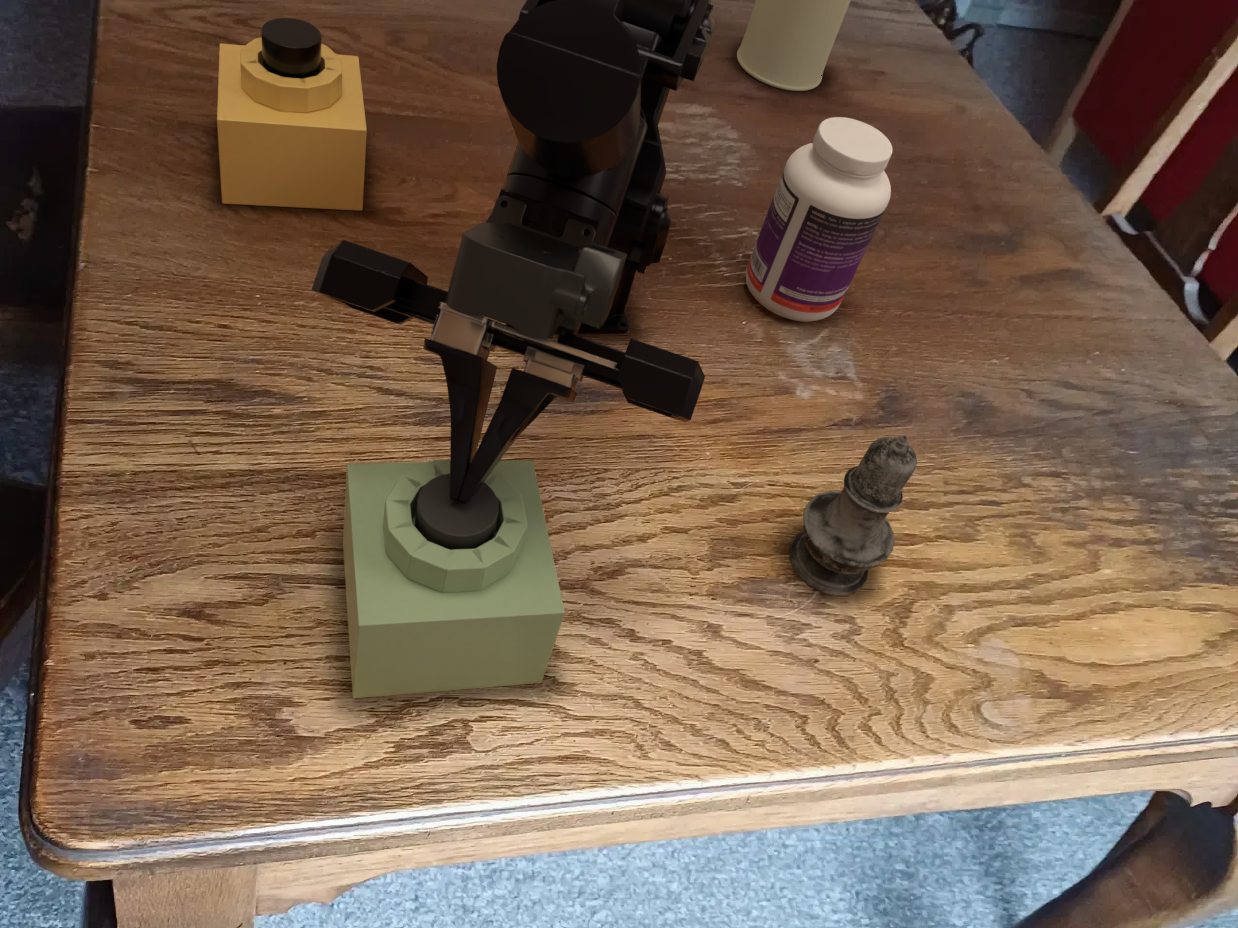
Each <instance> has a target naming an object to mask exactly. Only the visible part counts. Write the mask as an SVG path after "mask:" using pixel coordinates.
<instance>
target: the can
mask: <svg viewBox="0 0 1238 928" xmlns="http://www.w3.org/2000/svg"><path fill="white" fill-rule="evenodd" d="M851 1H852V0H755V2H754V5H753V8H752V12H751V15H750V17H749V21H748V23H747V26H746V30H745V33H744V35H743V38H742V40H741V44H740V46H739V48H738V49H737V52H736V59H737V62H738V64H739V66H740V67H741V68H742V69H743V70H744V71H745V72H746V73H747V74H748V75H750V76H751V77H752V78H754V79H755V80H757V81H759V82H761V83H763V84H766V85H768V86H771V87H772V88H777V89H780V90H783V91H784V90H785V91H789V92H806V91H810V90H813V89H815V88H817V87H818V86H819V85H821V82H822V80H823V74H824V71H825V68H826V66H827V62H828V59H829V58H830V54H831V52H832V49H833V47H834V45H835V41H836V39H837V37H838V34H839V31H840V28H841V26H842V24H843V21H844V19H845V16H846V14H847V11H848V10H849V9H848V8H849V6H850V4H851ZM821 75H822V76H821Z"/></svg>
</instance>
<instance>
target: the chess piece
mask: <svg viewBox="0 0 1238 928" xmlns="http://www.w3.org/2000/svg"><path fill="white" fill-rule="evenodd" d="M858 463H859V464H858V465H856V466H853V467H851V468H849V469H848V470H847V472H846V473H845V474H844V478H843V488H842V490H827V491H824V492H820V493H817V494H816V495H815V496H813V497H811V498H810V500H809V501H808V502H807V504H806V505H805V507H804V510H803V514H802V517H803V519H802V520H803V525H802V526H803V529H802V530H801V531H799V532H798V533H796V535H795V536H794V537H793V538H792V539H791V542H790V545H789V548H788V553H789V554H788V555H789V557H788V558H789V560H790V564H791V567H792V568H793V570H794V572H795V573H796V574H797V576H798V577H799V578H800V579H801V580H802V581H803V582H804V583H805V584H806V585H808V586H810V587H811V588H812V589H814V590H816V591H818V592H821V593H822V594H824V595H830V596H835V597H841V596H848V595H849V596H850V595H852V594H855V593H856V592H858V591H859V590H861V589H862V588H863V586H864V585H865V584H866V582H867V581H868V576H869V570H871V569H873V568H874V567H876V566H879V565H881V564H882V563H883V562H885V561H887V560H888V559H889V557H890V555H891V554H892V553H893V551H894V546H895V536H894V531H893V527H892V526H891V524H890V521H889V520H888V519H887V516H888V514H889V513H892V512H895V510H897V509H899V508H900V506H901V505H902V503H903V498H904V497H903V490H904V488H905V486H906V485H907V483H908V482H909V480H910V478H911V477H912V475H913V474H914V473H915V471H916V469H917V464H918V459H917V455H916V452H915V450H914V449H913V447H912V446H911V445H910V444H909V439H908V436H907V435H901V436H898V437H894V436H884V437H879V438H877V439H875V440H874V441H873V442H872V443H870V445H869V447H868V448H867V450H866V451H865V453H864V455H863V457H862V458H861V460H860V462H858Z"/></svg>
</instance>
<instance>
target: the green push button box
mask: <svg viewBox="0 0 1238 928" xmlns="http://www.w3.org/2000/svg"><path fill="white" fill-rule="evenodd" d="M444 474H450V459H432V460H429V461H424V462H423V461H418V462H417V461H415V462H413V461H412V462H374V463H373V462H367V463H366V462H365V463H362V462H361V463H359V462H357V463H347V464H346V474H345V475H346V476H345V493H344V494H345V495H344V512H343V513H344V515H343V516H344V517H343V531H342V532H343V534H342V550H343V552H342V553H343V566H344V581H345V596H346V597H345V599H346V611H347V629H348V644H349V645H348V646H349V661H350V675H351V690H352V691H351V692H352V699H361V698H374V697H375V698H376V697H385V696H398V695H410V694H425V693H435V692H446V691H459V690H473V689H481V688H482V689H484V688H498V687H507V686H508V687H509V686H522V685H532V684H533V685H535V684H542V682H543V679H544V677H545V674H546V671H547V669H548V664H549V662H550V659H551V656H552V653H553V649H554V646H555V644H556V640H557V637H558V636H559V635H558V634H559V632H560V629H561V626H562V624H563V623H562V622H563V620H564V617H565V613H566V611H565V607H564V603H563V602H564V601H563V597H562V591H561V588H560V583H559V579H558V574H557V569H556V565H555V559H554V555H553V550H552V545H551V540H550V536H549V530H548V527H547V522H546V517H545V512H544V508H543V503H542V498H541V493H540V487H539V483H538V479H537V475H536V468H535V464H534V460H531V459H530V460H500V461H499V462H498V464H497V465H496V466H495V468H494V469H493V470H492V472H491V473H490V474H489V476H488V477H487V478H486V480H485V481H484V483H486V484H487V485H488V486H489V487H490V488H491V489H492V490H493V492H494V493H495V495H496V497H497V500H498V503H499V512H498V517H497V521H496V526H495V530H494V535H493V539H492V540H490V541H488V542H486V543H484V544H483V545H481V546H479V547H477V548H475V549H454V550H449V549H447V548H444V547H442V546H439V545H437V544H434V543H432V542H429V541H427V540H426V539H425V538H424V537H423V535H422V534H421V533H420V532H419V531H418V530H417V528H416V527H415V526H414V524H415V517H416V509H417V501H418V496H419V493H420V491H421V489H422V488H423V487H424V486H425V485H426V484H427V483H428V482H429V481H430V480H432V479H434V478H435V477H438V476H440V475H444Z"/></svg>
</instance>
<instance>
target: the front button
mask: <svg viewBox="0 0 1238 928" xmlns="http://www.w3.org/2000/svg"><path fill="white" fill-rule="evenodd" d="M498 512H499V503H498V500H497V497H496V495H495V493H494V492H493V490H492V489H491V488H490V487H489V486H488V485H487V484H486V483H484V482H483V484H482V485H481V486H480V488H479V489H478V490H477V492H476V493H475V494H474V496H473V497H472V498H471V500H470V501H469V502H468V503H466V504H463V503H460V502H458V501H454V500H451V499H450V474H444V475H440V476H438V477H435V478H434V479H432V480H430V481H429V482H428V483H427V484H426V485H425V486H424V487H423V488H422V489H421V491H420V493H419V496H418V501H417V509H416V517H415V524H414V526H415V527H416V528H417V530H418V531H419V532H420V533H421V534H422V535H423V537H424V538H425V539H426V540H427V541H429V542H432V543H434V544H437V545H439V546H442V547H444V548H447V549H449V550H454V549H475V548H477V547H479V546H481V545H483V544H484V543H486V542H488V541H490V540H492V539H493V535H494V530H495V526H496V521H497V517H498Z"/></svg>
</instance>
